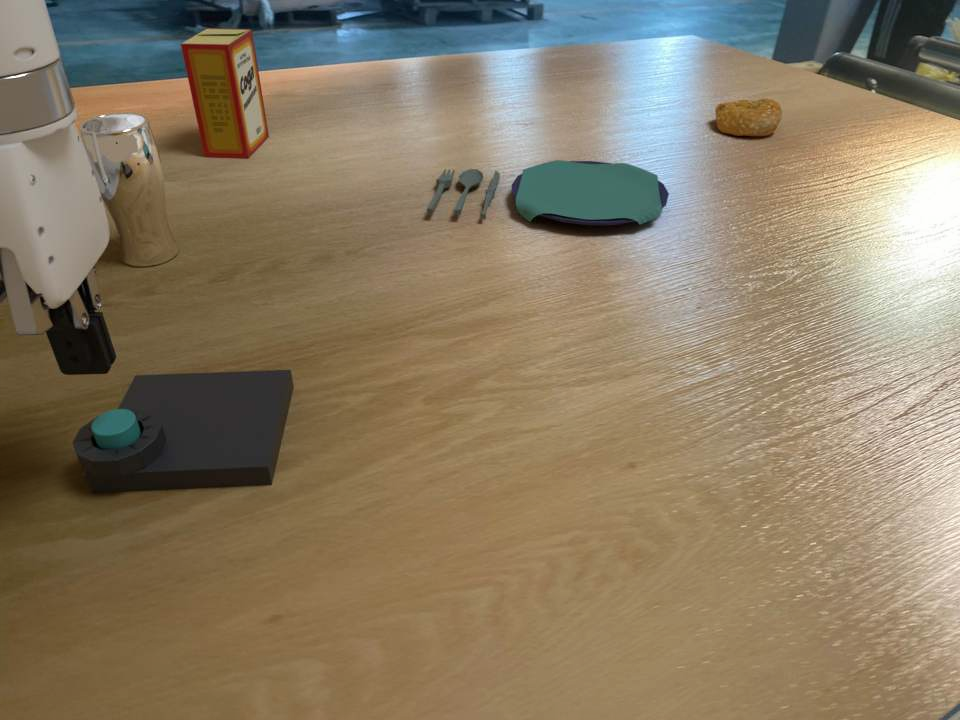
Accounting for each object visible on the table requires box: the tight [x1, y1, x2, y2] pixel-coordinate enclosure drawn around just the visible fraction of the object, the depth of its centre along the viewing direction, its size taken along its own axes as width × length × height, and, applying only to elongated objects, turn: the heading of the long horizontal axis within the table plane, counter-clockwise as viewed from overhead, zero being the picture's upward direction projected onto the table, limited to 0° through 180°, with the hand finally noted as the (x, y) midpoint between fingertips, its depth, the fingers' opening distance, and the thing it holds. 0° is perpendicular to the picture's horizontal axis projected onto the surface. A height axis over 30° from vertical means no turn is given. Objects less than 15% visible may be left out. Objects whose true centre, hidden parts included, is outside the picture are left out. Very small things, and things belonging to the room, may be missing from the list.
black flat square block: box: [72, 369, 295, 494], centre depth 59 cm, size 14×12×4 cm
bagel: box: [714, 98, 783, 137], centre depth 120 cm, size 10×11×5 cm
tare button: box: [91, 408, 141, 450], centre depth 55 cm, size 3×3×2 cm
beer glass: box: [78, 112, 179, 268], centre depth 82 cm, size 7×7×15 cm
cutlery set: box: [426, 159, 670, 226], centre depth 98 cm, size 20×30×2 cm, turn 82°
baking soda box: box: [180, 27, 270, 159], centre depth 110 cm, size 10×6×16 cm
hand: (90, 367), depth 52 cm, fingers closed
